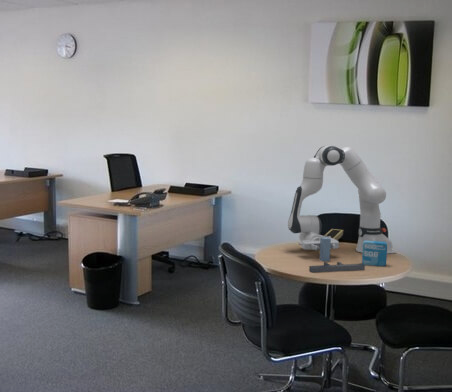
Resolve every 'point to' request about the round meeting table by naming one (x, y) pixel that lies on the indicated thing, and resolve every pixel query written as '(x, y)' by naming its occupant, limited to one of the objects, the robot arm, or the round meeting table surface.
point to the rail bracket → (336, 267)
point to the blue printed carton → (374, 253)
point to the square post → (325, 249)
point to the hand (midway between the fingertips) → (325, 247)
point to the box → (335, 233)
